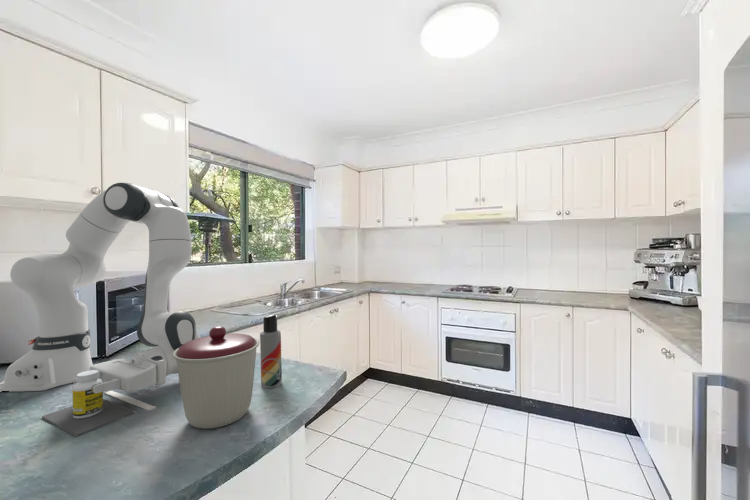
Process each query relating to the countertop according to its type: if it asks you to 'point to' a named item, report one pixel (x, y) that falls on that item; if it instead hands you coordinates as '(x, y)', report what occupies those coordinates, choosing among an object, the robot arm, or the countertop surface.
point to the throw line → (130, 400)
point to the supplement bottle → (87, 395)
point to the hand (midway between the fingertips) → (83, 386)
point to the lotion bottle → (270, 353)
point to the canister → (216, 377)
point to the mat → (85, 425)
